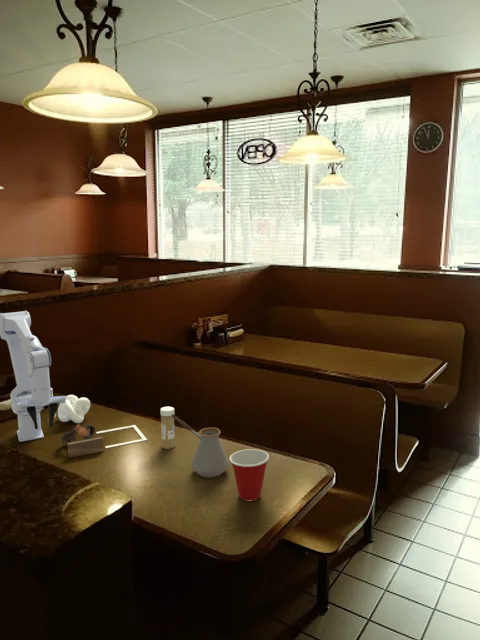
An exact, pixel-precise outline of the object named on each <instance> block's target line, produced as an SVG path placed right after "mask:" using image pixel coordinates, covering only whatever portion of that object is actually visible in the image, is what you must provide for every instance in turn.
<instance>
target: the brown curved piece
mask: <svg viewBox="0 0 480 640" xmlns="http://www.w3.org/2000/svg"><path fill="white" fill-rule="evenodd" d="M95 431H96V428H95V425H94V424H92V423H88V424H85V426H81V425H80V423H77V424H76V425H73V426H72V427H70V428H69V429H68V430H67V432H63V433H62V435H60V436H59V437H60V439H61V445H64V444H65V445H67V446H68V443H72V441H73V442H75V441H77V438H76V435H78V436H79V437H80V438H82V439H83V440H88V439H93V436H94V434H96V432H95Z"/></svg>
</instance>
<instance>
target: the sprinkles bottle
mask: <svg viewBox="0 0 480 640" xmlns="http://www.w3.org/2000/svg"><path fill="white" fill-rule="evenodd" d="M172 414H174V415H175V408H174V407H172V406H164V407H163V406H162V407H161V408H160V426H161V427H160V430H161V433H160V434H161V448H163V449H165V450H167V449H168V450H170V449H173V448H174V447H175V446H176V443H175V441H176V440H175V435H176V434H175V418H173V417H172V416H171V415H172ZM170 416H171V417H170ZM169 417H170V419H171V420H170V419H169ZM172 418H173V419H172Z"/></svg>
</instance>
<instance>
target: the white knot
mask: <svg viewBox="0 0 480 640" xmlns="http://www.w3.org/2000/svg"><path fill="white" fill-rule="evenodd" d="M65 397H66V403H59V404H58V409H57V416H58V419H59V421H60V422H63V423H67V422H69V421H72V422H73V423H75V424H81V423H82V422H83V421H84V419H85V415H86V414H87V413H88V411H89V410H90V408H91V400H89V398H87V397H80V398H78V396H76V395H74V394H69V395H66V396H65Z"/></svg>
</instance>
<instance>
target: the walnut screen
mask: <svg viewBox="0 0 480 640" xmlns="http://www.w3.org/2000/svg"><path fill="white" fill-rule="evenodd" d="M104 448H105V445H104V437H103V436H98V437H92V439H88V440H85V439H82V440H76V441H73V442H72V441H71V442H70V443H68V442H67V453H68V454H67V455H68V456H67V457H68V458H69V459H70V458H71V459H72V458H77V457H80V456H86V455H90V454H94V453H100V452H104V450H105V449H104Z"/></svg>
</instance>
